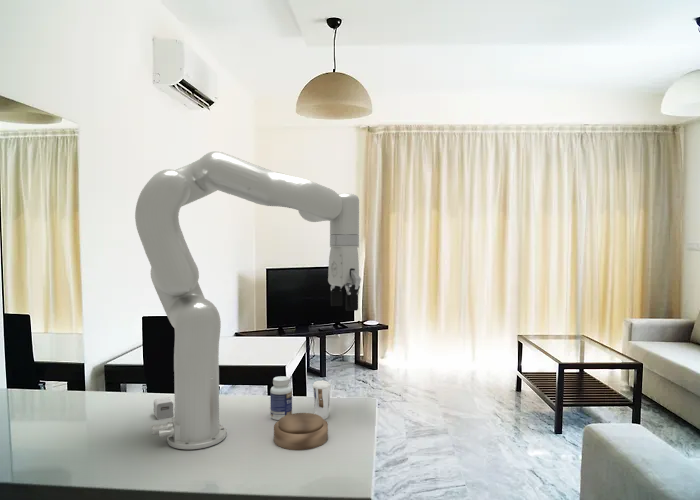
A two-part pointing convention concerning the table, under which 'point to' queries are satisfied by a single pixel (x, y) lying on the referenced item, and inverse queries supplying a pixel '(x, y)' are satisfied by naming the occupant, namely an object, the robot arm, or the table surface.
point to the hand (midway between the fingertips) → (344, 308)
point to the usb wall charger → (163, 408)
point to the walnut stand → (300, 431)
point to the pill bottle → (281, 398)
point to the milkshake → (322, 398)
